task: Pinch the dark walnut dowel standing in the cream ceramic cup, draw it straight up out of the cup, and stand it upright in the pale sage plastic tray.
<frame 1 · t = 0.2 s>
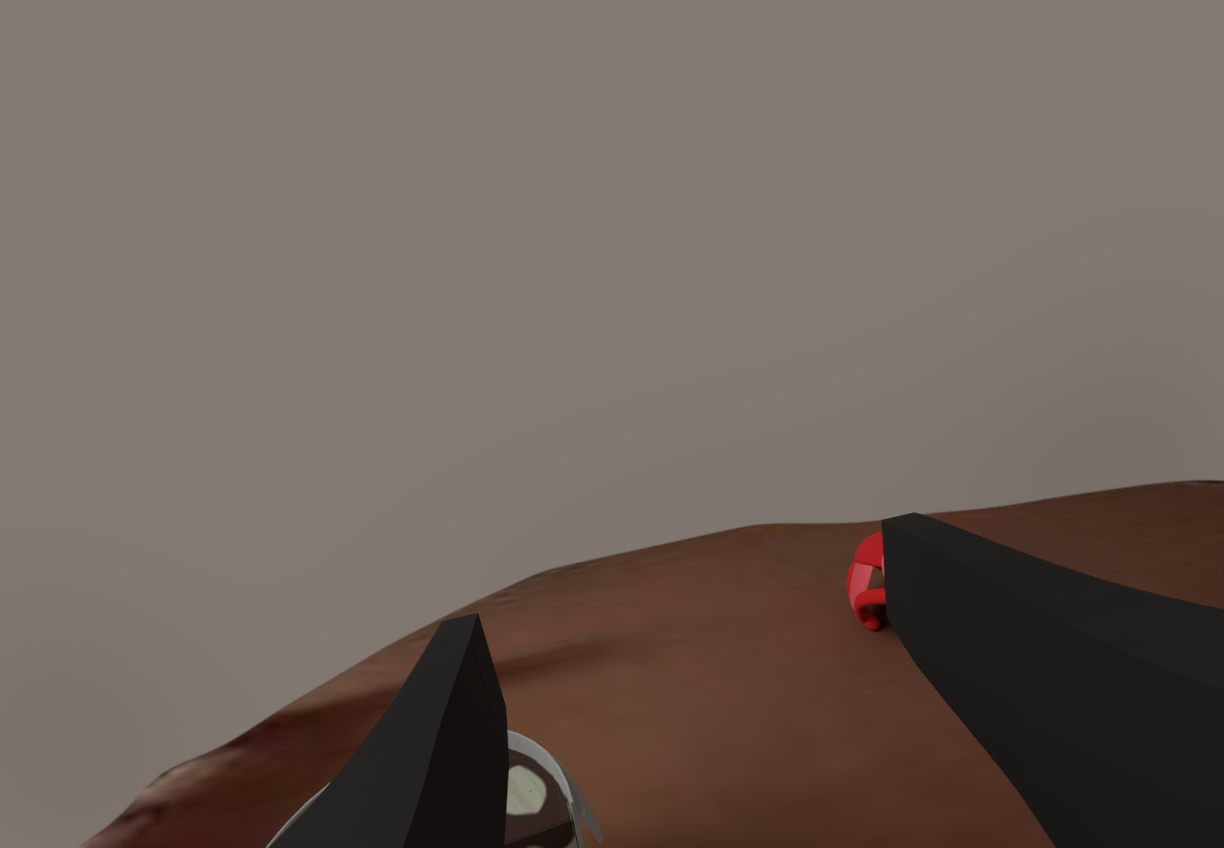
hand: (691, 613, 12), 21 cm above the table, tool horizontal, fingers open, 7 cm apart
cap: (908, 619, 43), on the table
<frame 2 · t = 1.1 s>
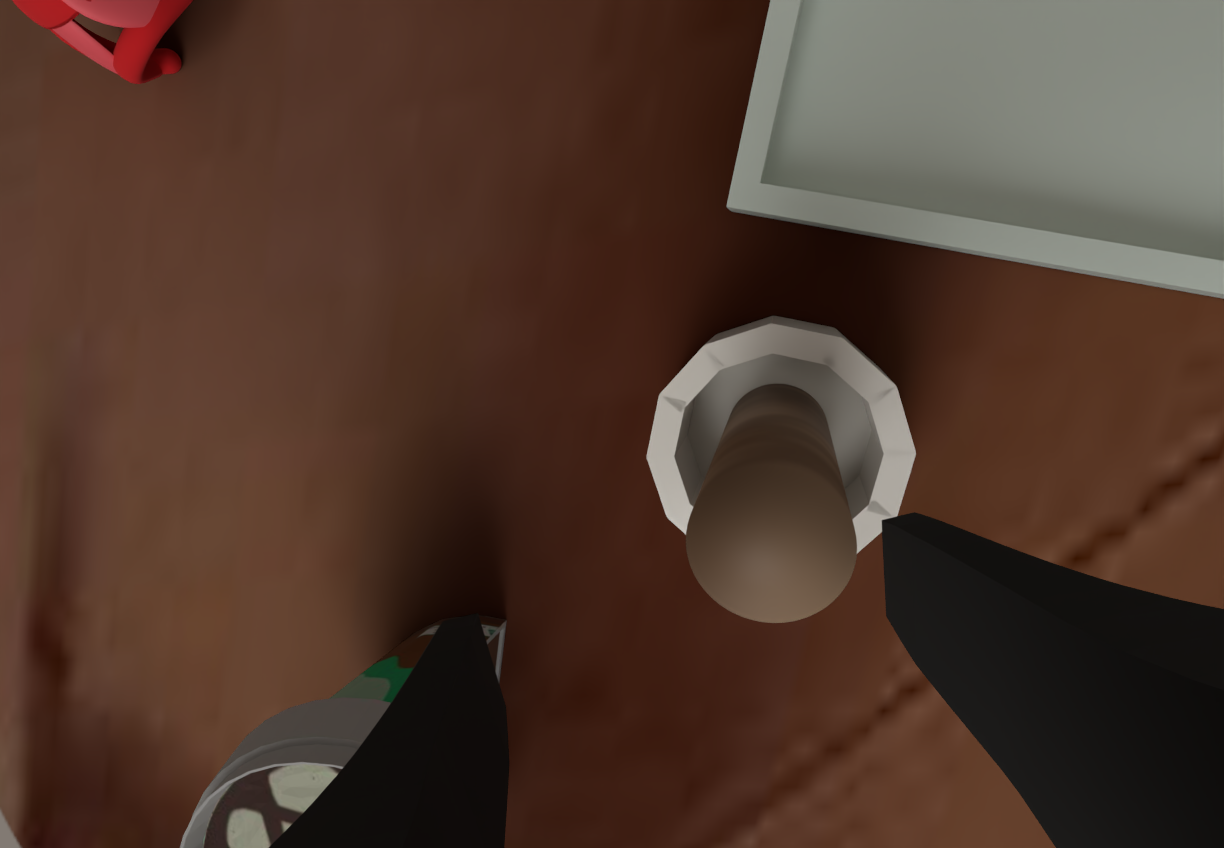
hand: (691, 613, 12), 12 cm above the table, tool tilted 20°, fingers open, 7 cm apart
dowel: (776, 432, 23), resting on cup
food container: (426, 700, 30), on the table
tray: (1042, 55, 20), on the table
cup: (777, 429, 24), on the table
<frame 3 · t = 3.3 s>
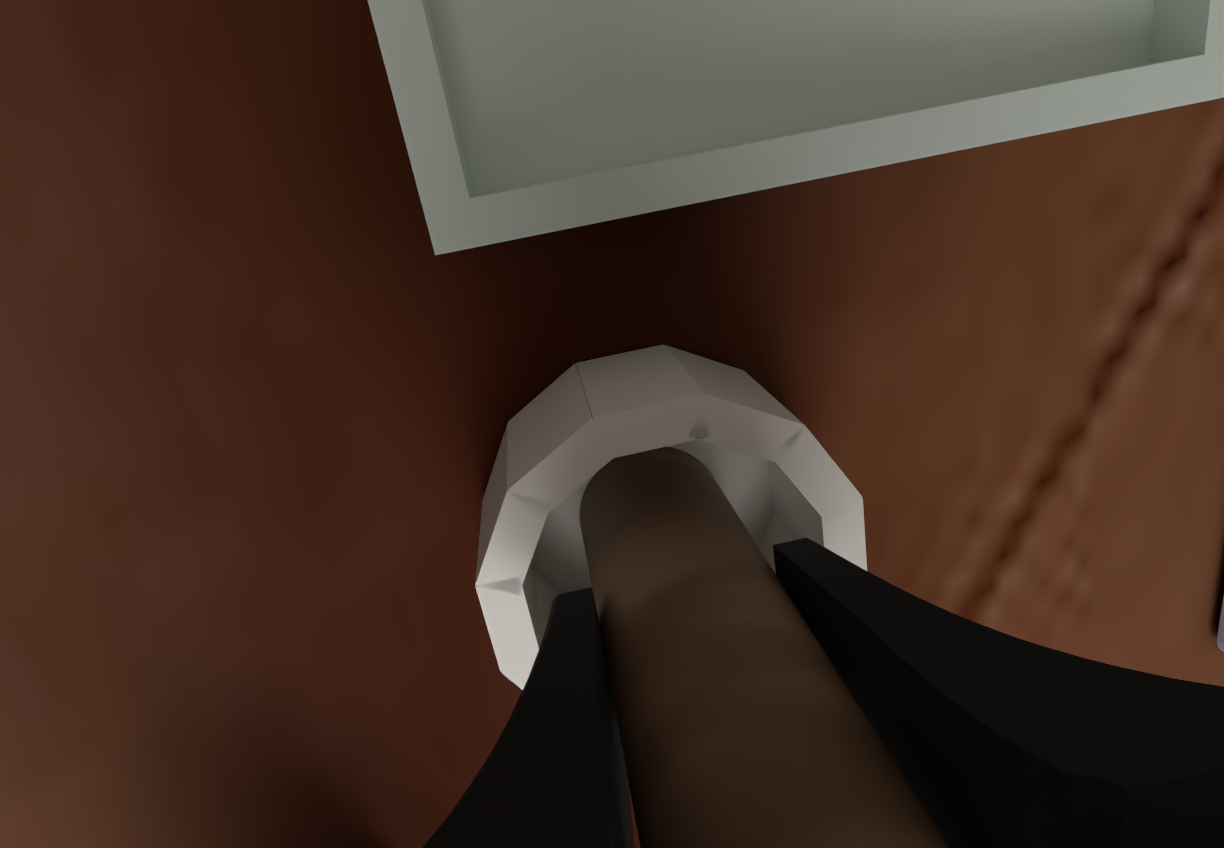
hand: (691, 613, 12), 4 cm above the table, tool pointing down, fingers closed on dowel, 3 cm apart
dowel: (650, 512, 16), resting on cup, touching gripper
cup: (646, 502, 17), on the table
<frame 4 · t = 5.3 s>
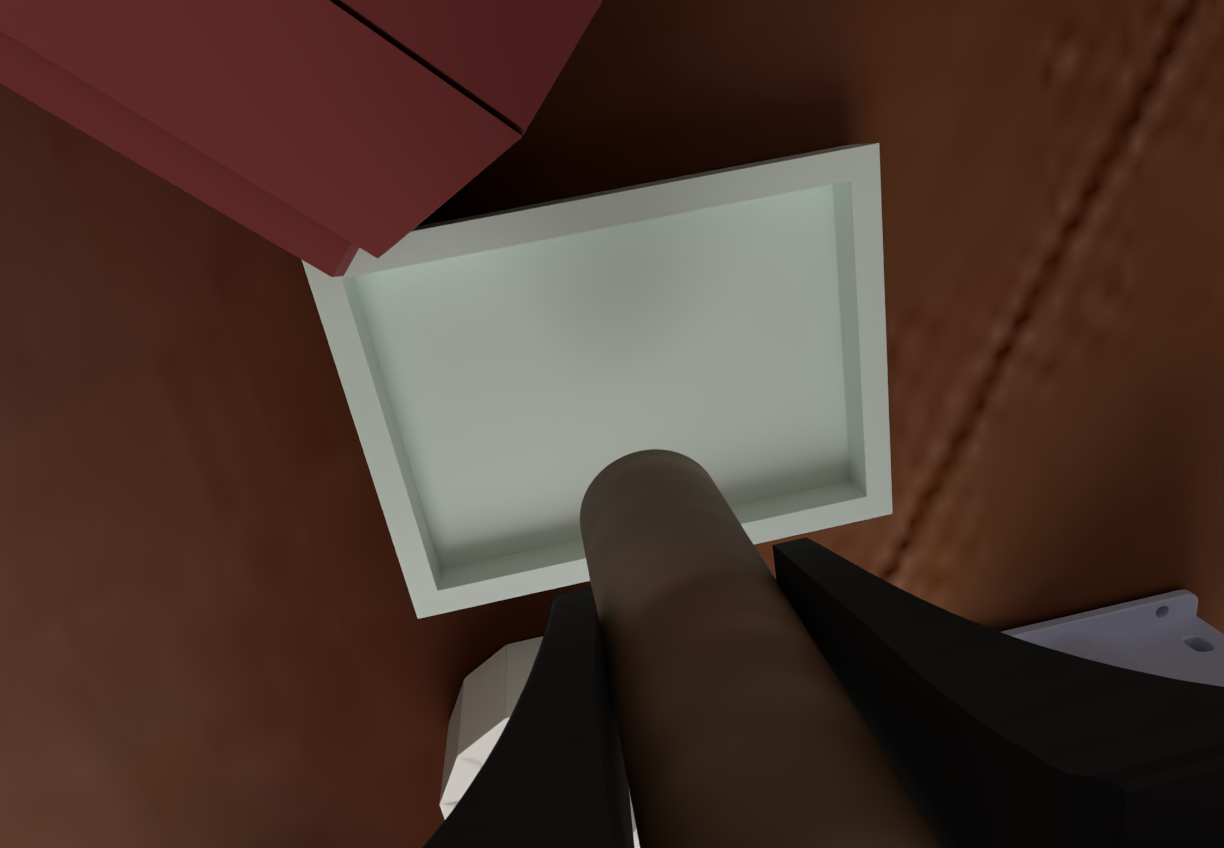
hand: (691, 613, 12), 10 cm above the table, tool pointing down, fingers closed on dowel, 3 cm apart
dowel: (650, 515, 16), point 7 cm above the table, touching gripper
tray: (622, 380, 22), on the table
cup: (555, 719, 26), on the table
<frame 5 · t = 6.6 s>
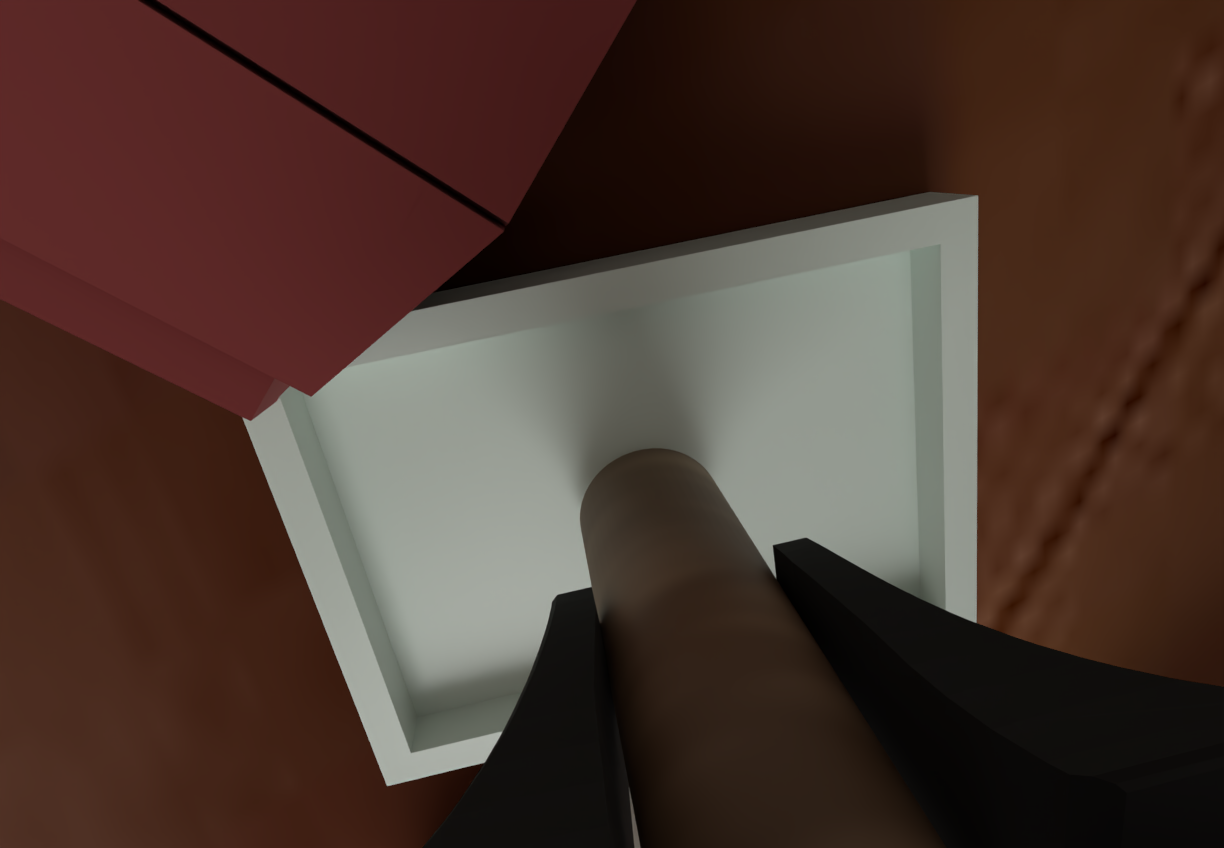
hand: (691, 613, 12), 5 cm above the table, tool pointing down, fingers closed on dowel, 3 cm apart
dowel: (650, 514, 16), point 1 cm above the table, touching gripper
tray: (640, 485, 17), on the table
when the fingers open (5 cm above the table, at t = 7.4 s): dowel stays where it is, resting on tray.
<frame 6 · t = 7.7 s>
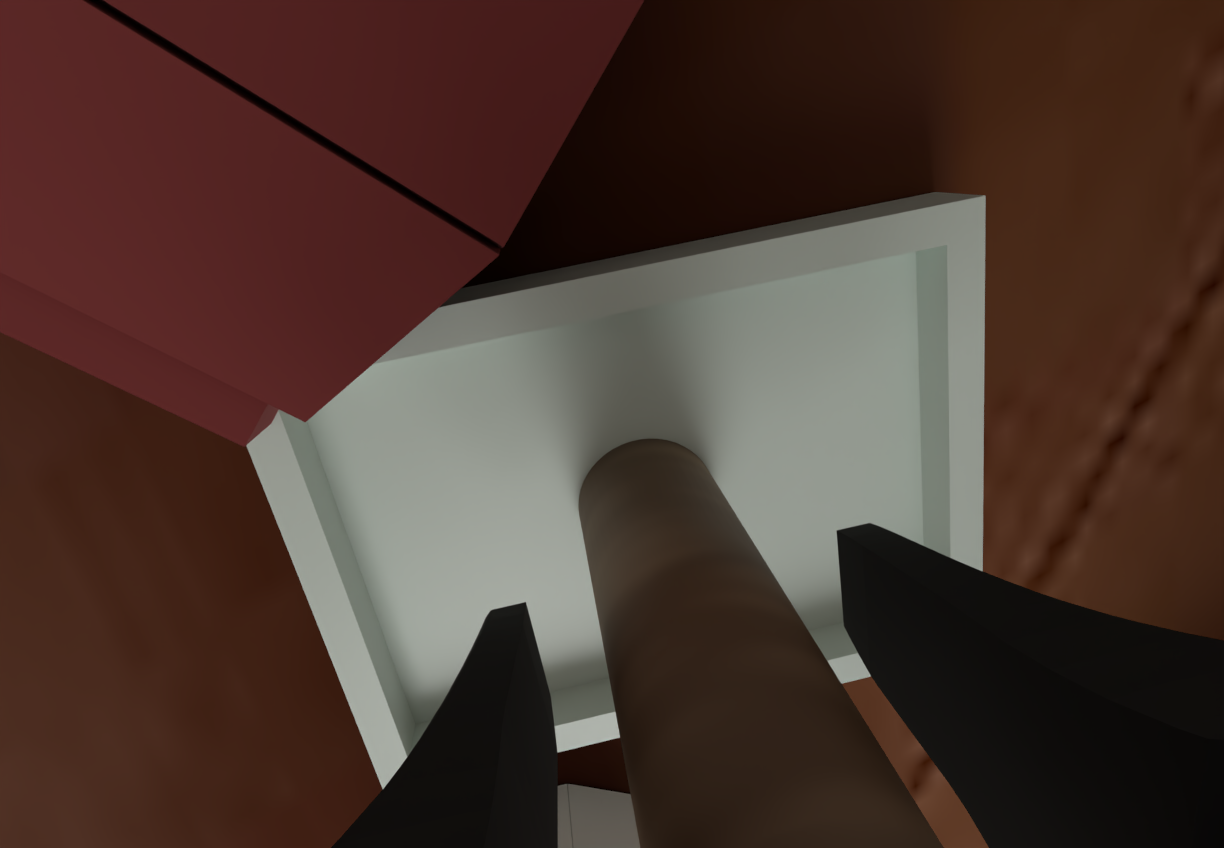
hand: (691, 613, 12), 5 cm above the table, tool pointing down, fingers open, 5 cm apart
dowel: (647, 502, 17), point 1 cm above the table, touching tray
tray: (641, 489, 17), on the table
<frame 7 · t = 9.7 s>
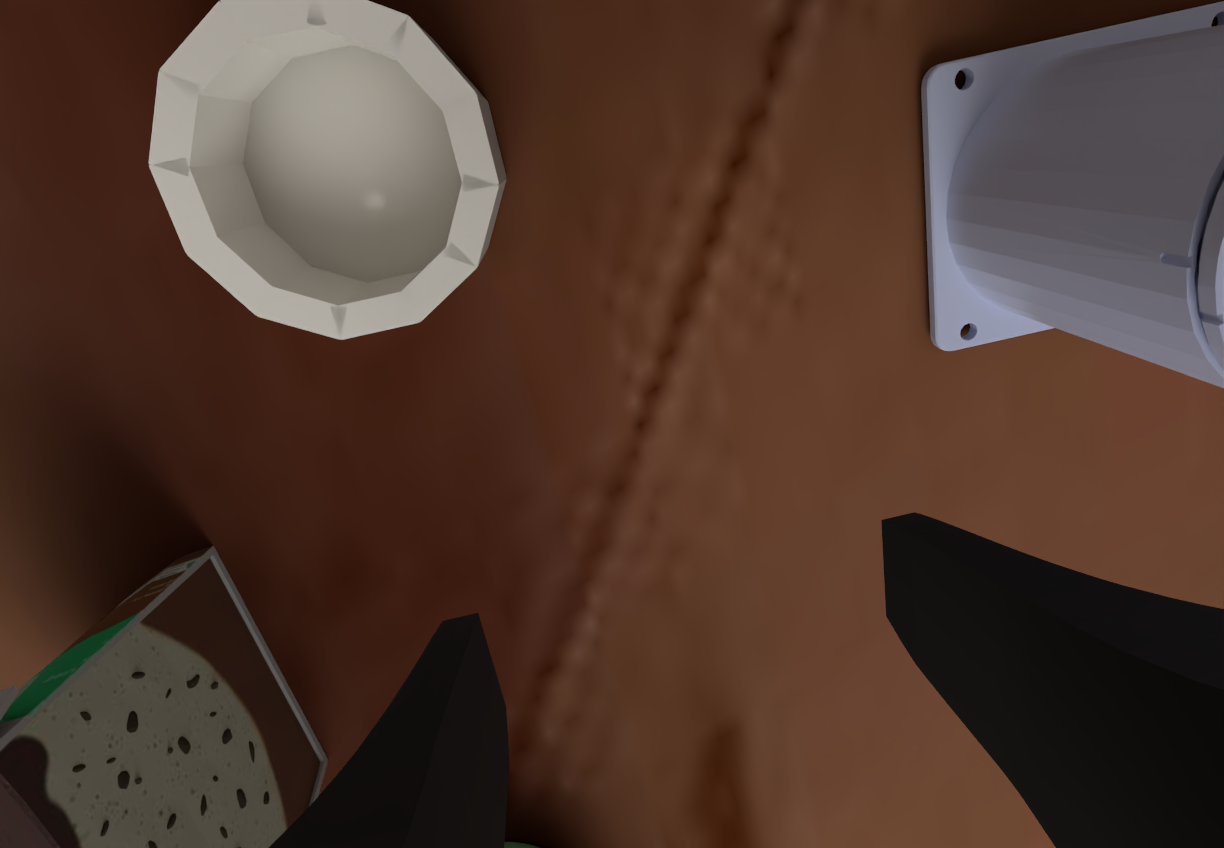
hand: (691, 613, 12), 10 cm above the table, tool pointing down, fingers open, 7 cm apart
food container: (190, 679, 25), on the table
cup: (364, 169, 19), on the table
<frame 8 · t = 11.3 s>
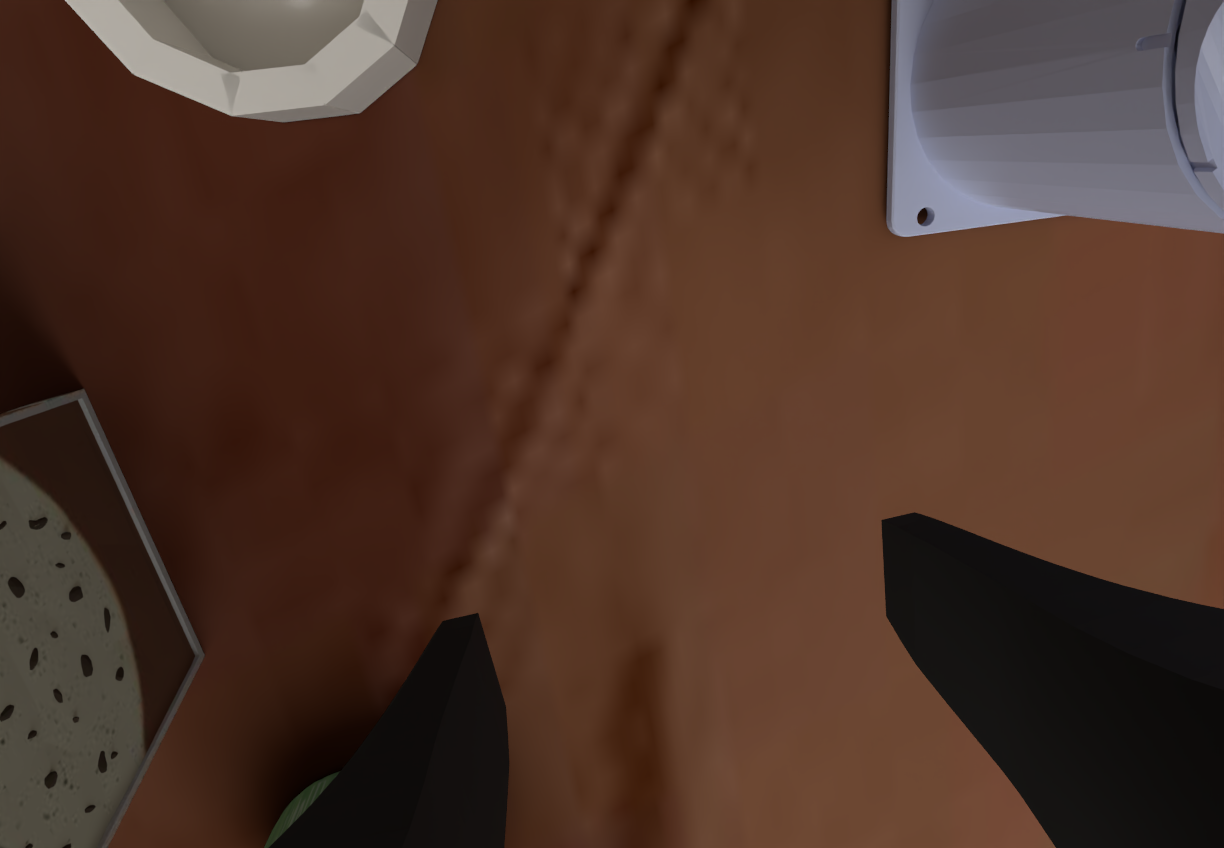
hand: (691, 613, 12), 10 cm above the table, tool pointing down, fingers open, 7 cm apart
food container: (49, 548, 22), on the table
ramekin: (387, 834, 28), on the table
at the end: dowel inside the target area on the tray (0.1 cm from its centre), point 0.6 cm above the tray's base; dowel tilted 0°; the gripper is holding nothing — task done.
